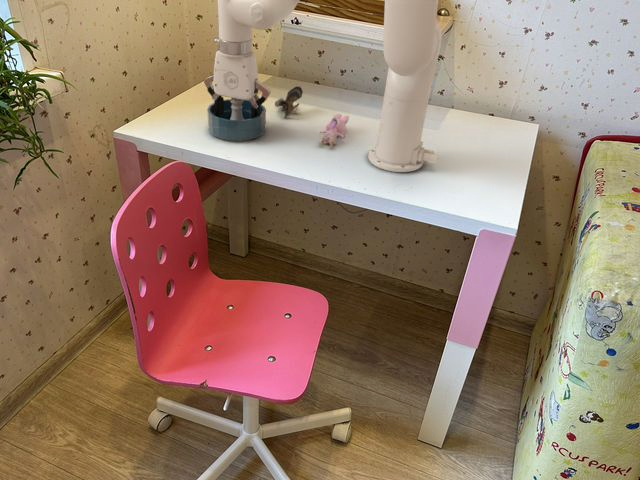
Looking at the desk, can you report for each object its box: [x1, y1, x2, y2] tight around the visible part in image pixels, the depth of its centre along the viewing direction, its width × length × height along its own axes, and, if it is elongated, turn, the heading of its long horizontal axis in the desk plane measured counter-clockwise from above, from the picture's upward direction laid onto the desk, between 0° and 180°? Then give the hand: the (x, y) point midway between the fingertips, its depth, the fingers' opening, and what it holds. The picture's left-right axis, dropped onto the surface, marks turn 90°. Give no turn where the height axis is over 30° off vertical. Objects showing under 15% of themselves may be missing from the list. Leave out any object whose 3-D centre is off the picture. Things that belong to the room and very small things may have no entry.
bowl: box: [206, 98, 267, 142], centre depth 138 cm, size 14×14×6 cm
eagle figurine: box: [274, 86, 304, 119], centre depth 148 cm, size 8×7×9 cm
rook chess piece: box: [230, 98, 244, 120], centre depth 137 cm, size 4×4×8 cm
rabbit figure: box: [319, 113, 350, 149], centre depth 137 cm, size 6×6×15 cm
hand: (237, 118), depth 138 cm, fingers open, 9 cm apart
